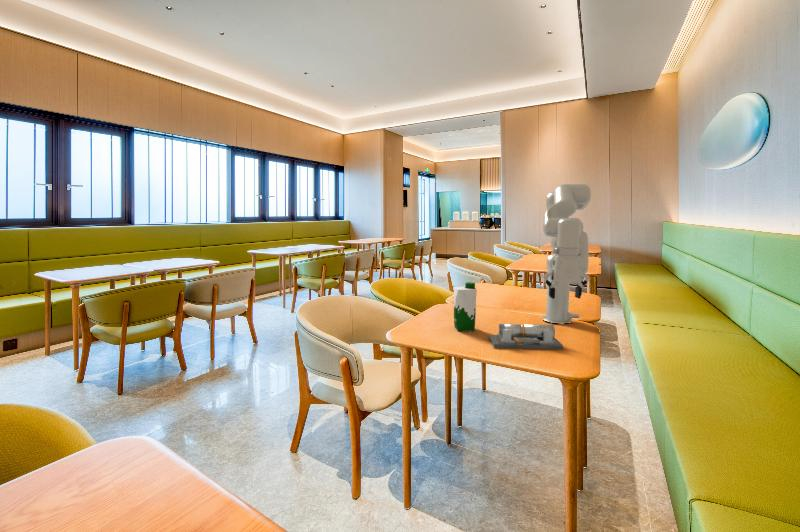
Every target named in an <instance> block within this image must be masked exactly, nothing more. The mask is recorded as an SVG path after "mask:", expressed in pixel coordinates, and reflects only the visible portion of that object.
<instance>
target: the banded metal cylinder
mask: <svg viewBox="0 0 800 532" xmlns="http://www.w3.org/2000/svg"><path fill="white" fill-rule="evenodd" d="M503 324H504V329H511V337H516V338H543V333H544V330H552V331H553V338H554V337H555V336H556V329H555V324H541V325H538V324H529V323H527V324H525V323H524V324H523V323H522V324H521V323H514V324H513V323H503Z"/></svg>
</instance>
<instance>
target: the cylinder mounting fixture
mask: <svg viewBox="0 0 800 532" xmlns="http://www.w3.org/2000/svg"><path fill="white" fill-rule="evenodd" d="M504 324H505V323H498V333H497V334H489V335H488V339H489V341H490V343H491V345H492V347H493V349H511V350H512V349H514V350H515V349H517V350H519V349H520V350H554V351H556V350H559V351H561V350H564V345H563V344H562V343H561V342H560V341H559V340H558V338H555V337H554V338H553V331H552V330H544V333H543V338H516V337H511V329H504ZM537 325H542V324H539V323H538V324H537Z"/></svg>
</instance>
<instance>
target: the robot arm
mask: <svg viewBox="0 0 800 532" xmlns="http://www.w3.org/2000/svg"><path fill="white" fill-rule="evenodd" d="M591 197H592V191H591V187H589V185H588V184H586V183H571V184H570V183H569V184H567V183H565V184H561V185H558V186H557V187H556V188H555V189H554V191H551V192H550V193H547V195H546V198H545V205H546V211H545V212H544V215H543V219H542V221H543V222H542V229H543V235H544V236H546V237H549V238H550V248H551V249H552V253H551V254H549V255H548V256H547V258H546V270H547V271H546V273H545V274H544V275H542V279H543V281H544V284H545V285H547V286H546V287H547V291H546V312H545V315H544V316H543V317H542V319H543V320H544V321H547V322H551V323H550V324H552V323H560V324H559V325H562V324H561V323H569V322H571V321H572V319H579V318H580V314H578V313H574V312H573V313H572V312H570V311H569V308H570V306H569V303H570V288H571V285H570V284H574V285H576V286H575V290H574V297H575V298H577V299H581V297H582V295H583V288H584V287H585V285H586V284H588V281H589V280H590V277H591V276H590V275H589V274H587V273H588V270H589V236H588V233H587V232H585V231H584V222H582V220H581V219H580V218H578V217H577V218H576V217H571V216H573V215H574V214H575V213H576V211H580V210H585V209H586V208H587V206H588V205H589V203H590V202H591ZM543 320H542V321H543ZM544 321H543V322H544ZM547 322H546V323H547ZM571 323H572V322H571Z"/></svg>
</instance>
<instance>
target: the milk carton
mask: <svg viewBox="0 0 800 532" xmlns="http://www.w3.org/2000/svg"><path fill="white" fill-rule="evenodd" d="M476 307H477V289H476V282H472V281H471V282H470V281H469V282H465V285H464V286H463V285H462V286H454V293H453V322H454V323H453V324H454V328H455V329H456V331H458V332H475V329H476V318H477V317H476V310H477V308H476Z"/></svg>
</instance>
